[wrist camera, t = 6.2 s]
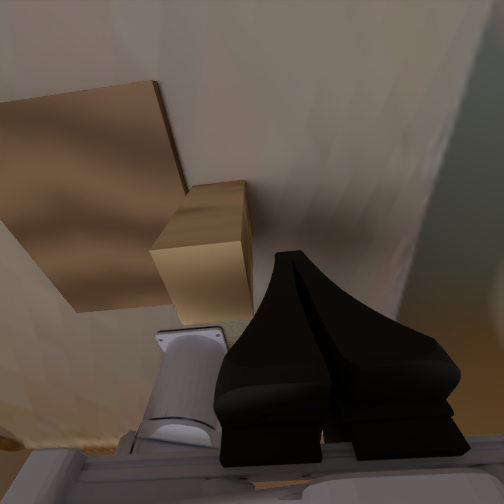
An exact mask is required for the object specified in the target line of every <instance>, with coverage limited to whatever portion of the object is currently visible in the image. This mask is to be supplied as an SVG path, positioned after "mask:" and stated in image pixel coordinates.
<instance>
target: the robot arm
mask: <svg viewBox="0 0 504 504" xmlns="http://www.w3.org/2000/svg"><path fill="white" fill-rule="evenodd" d="M155 338H156V340H157V341H158V343H159V345H160V346H161V348H162V350H163V352H164V353H165V354H164V357H163V360H162V363H161V366H160V369H159V372H158V375H157V378H156V381H155V384H154V387H153V390H152V393H151V396H150V399H149V402H148V405H147V408H146V411H145V413H144V416H143V419H142V422H141V424H140V426H139V428H138V430H137V432H136V431H132V430H130V431H128V433H127V434H126V435H124V436H123V437H121V438H120V441H119V443H118V446H117V448H116V451H115V454H114V455H102V456H86V455H85V454H84V453H83V452H82V451H80V450H78V449H75V448H67V447H63V448H45V449H36V450H34V451H32V453H31V454H30V456H29V458H28V459H27V461H26V462H25V464H24V466H23V467H22V469H21V470H20V472H19V474H18V475H17V477H16V478H15V480H14V482H13V483H12V485H11V487H10V488H9V490H8V491H7V493H6V494H5V496H4V498H3V499H2V501H1V503H0V504H504V434H493V435H474V436H463V435H462V433H461V432H460V430H459V429H458V427H457V425H456V424H455V422H454V421H453V419H452V418H451V416H453V415H454V411H453V409H452V408H451V406H450V405H449V404H448V402H447V400H446V399H447V397H448V396H449V395H450V393H451V392H452V391H453V390H454V389H455V387H456V386H457V385H458V383H459V381H460V378H461V371H460V369H459V368H458V367H457V366H456V365H455V363H454V362H453V361H452V359H451V358H450V356H449V355H448V354H447V353H446V351H445V350H444V349H443V348H442V347H441V346H440V345H439V343H437V341H436V340H435V339H434V338H431V337H429V336H426V335H424V334H422V333H420V332H417V331H415V330H413V329H410V328H408V327H406V326H404V325H401V324H399V323H397V322H395V321H393V320H391V319H389V318H387V317H385V316H384V315H382V314H380V313H378V312H376V311H374V310H373V309H371V308H369V307H368V306H366V305H364V304H363V303H361V302H359V301H358V300H356V299H355V298H353V297H352V296H350V295H349V294H348V293H346V292H345V291H343V290H342V289H341V288H340V287H338V286H337V285H336V284H335V283H333V282H332V281H331V280H330V279H329V278H328V277H327V276H325V275H324V274H323V273H322V272H321V271H320V270H319V269H318V268H317V267H316V266H315V265H314V264H313V263H312V262H311V261H310V260H309V258H308V257H307V256H306V255H305V254H304V253H303V252H302V251H301V250H297V251H287V252H277V253H276V254H275V264H274V269H273V273H272V277H271V280H270V283H269V286H268V289H267V291H266V294H265V296H264V298H263V300H262V302H261V304H260V306H259V308H258V310H257V312H256V314H255V315H254V317H253V319H252V320H251V322H250V323H249V325H248V326H247V328H246V329H245V330H244V332H243V333H242V335H241V336H240V337H239V339H238V340H237V341H236V342H235V344H234V345H233V346H232V347H231V349H230V350H229V351H228V349H227V345H226V342H225V339H224V335H223V332H222V329H221V328H205V329H194V330H182V331H170V332H159V333H156V336H155ZM220 426H221V427H222V432H219V429H220ZM322 431H323V436H324V442H325V444H320V440H321V434H322ZM135 433H136V435H135ZM313 479H314V480H313ZM290 480H311V481H310V482H309V483H305V484H297V485H290V486H282V487H275V488H267V489H260V490H255V486H254V485H253V484H252V483H249V482H266V481H267V482H268V481H290Z"/></svg>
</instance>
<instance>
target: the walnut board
mask: <svg viewBox="0 0 504 504" xmlns="http://www.w3.org/2000/svg"><path fill="white" fill-rule="evenodd" d="M187 194H188V191H187V188H186V184H185V181H184V177H183V174H182V170H181V166H180V163H179V159H178V156H177V152H176V149H175V145H174V142H173V138H172V135H171V131H170V128H169V124H168V121H167V117H166V114H165V110H164V106H163V103H162V99H161V96H160V92H159V89H158V85H157V82H156V81H153V80H150V81H143V82H137V83H130V84H123V85H117V86H110V87H103V88H97V89H90V90H84V91H77V92H70V93H64V94H57V95H50V96H44V97H37V98H30V99H24V100H17V101H11V102H4V103H0V220H1V221H2V222H3V223H4V225H5V226H6V227H7V228H8V229H9V231H10V232H11V233H12V234H13V236H14V237H15V238H16V239H17V240H18V242H19V243H20V244H21V245H22V247H23V248H24V249H25V250H26V251H27V253H28V254H29V255H30V256H31V258H32V259H33V260H34V261H35V262H36V264H37V265H38V266H39V267H40V269H41V270H42V271H43V272H44V273H45V275H46V276H47V277H48V278H49V280H50V281H51V282H52V283H53V284H54V286H55V287H56V288H57V289H58V291H59V292H60V293H61V294H62V295H63V297H64V298H65V299H66V300H67V302H68V303H69V304H70V305H71V306H72V308H73V309H74V310H75V311H76V313H82V312H93V311H103V310H114V309H125V308H136V307H147V306H158V305H169V304H173V302H172V300H171V298H170V296H169V294H168V291H167V289H166V287H165V285H164V282H163V280H162V278H161V276H160V273H159V271H158V269H157V267H156V265H155V262H154V260H153V258H152V256H151V253H150V251H149V250H150V249H151V247H152V246H153V244H154V243H155V241H156V240H157V238H158V237H159V235H160V234H161V232H162V231H163V229H164V228H165V226H166V225H167V223H168V222H169V220H170V219H171V218H172V216H173V215H174V213H175V212H176V210H177V209H178V207H179V206H180V204H181V203H182V201H183V200H184V198H185V197H186V195H187Z"/></svg>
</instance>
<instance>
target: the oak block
mask: <svg viewBox="0 0 504 504" xmlns="http://www.w3.org/2000/svg"><path fill="white" fill-rule="evenodd" d="M149 251H150V253H151V256H152V258H153V260H154V262H155V265H156V267H157V269H158V271H159V273H160V276H161V278H162V280H163V282H164V285H165V287H166V289H167V291H168V294H169V296H170V298H171V300H172V302H173V305H174V307H175V309H176V311H177V314H178V316H179V318H180V320H181V322H182V325H186V324H197V323H209V322H220V321H232V320H244V319H253V317H254V305H253V259H252V233H251V225H250V218H249V210H248V203H247V196H246V188H245V181H244V180H238V181H230V182H222V183H213V184H205V185H197V186H192V188H191V189H190V191H189V192H188V194H187V195H186V197H185V198H184V200H183V201H182V203H181V204H180V206H179V207H178V209H177V210H176V212H175V213H174V215H173V216H172V218H171V219H170V220H169V222H168V223H167V225H166V226H165V228H164V229H163V231H162V232H161V234H160V235H159V237H158V238H157V240H156V241H155V243H154V244H153V246H152V247H151V249H150V250H149Z"/></svg>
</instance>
